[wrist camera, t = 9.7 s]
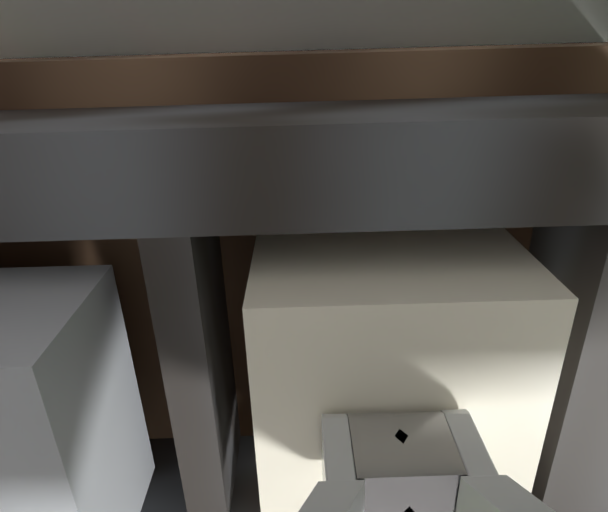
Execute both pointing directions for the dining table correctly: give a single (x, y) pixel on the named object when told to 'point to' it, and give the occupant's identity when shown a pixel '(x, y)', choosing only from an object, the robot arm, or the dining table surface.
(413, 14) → the dining table surface
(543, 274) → the cream key
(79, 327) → the grey key
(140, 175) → the compartment tray
